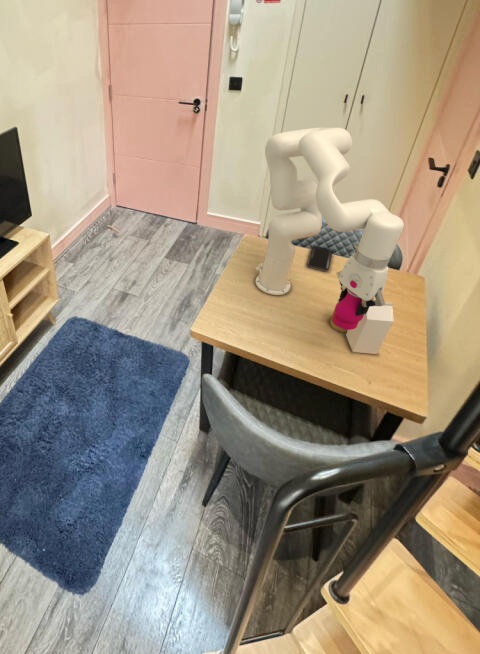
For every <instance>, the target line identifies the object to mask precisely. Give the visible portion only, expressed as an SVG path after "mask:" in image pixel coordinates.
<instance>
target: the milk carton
mask: <svg viewBox="0 0 480 654" xmlns="http://www.w3.org/2000/svg"><path fill="white" fill-rule="evenodd" d="M393 307H394V302H385V305H383V306H370V307H369V309H368V311H367V313H366V314H364V316H363V319H362V320H361V321H359V323H358V325H357V327H356V328H355V329H352V330H348V331H347V332H345V336H346V339H347V342H348V344H349V346H350V350H351V351H352V353H361V354H369V355H370V354H371V355H377V354H378V353H379V351H380V349H381V347H382V345H383V344H384V341H385V339H386V338H387V335H388V333H389V331H390V329H391V328H392V326H393V323H394V321H395V319H394V308H393Z"/></svg>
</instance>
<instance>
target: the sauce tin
mask: <svg viewBox="0 0 480 654" xmlns="http://www.w3.org/2000/svg"><path fill="white" fill-rule="evenodd" d="M338 302H339V298H338V299H337V302H336V304H335V306H334V309H333V312H332V315H331V317H330V320H329V324H330V326H331V327H332V328H333V329H334V330H336V331H338V332H341V333H347V331H348V330H347V329H343V328H341V327H339V326H337V325H336V324H335V322H334V320H333V318H334V315H335V313H336V312H335V307H336V305H337V304H338Z"/></svg>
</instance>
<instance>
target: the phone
mask: <svg viewBox="0 0 480 654" xmlns="http://www.w3.org/2000/svg"><path fill="white" fill-rule="evenodd" d="M333 252H334V251H333V250H332V249H330V248H325V247H323V246H322V247H321V246H317V245H313V246H312V247H311V250H310V252H309V253H310V254H309V257H308V261H307V264H306V266H307V268H310V269H314V270H316V271H317V270H318V271H321V272H329V269H330V266H331V261H332V256H333Z"/></svg>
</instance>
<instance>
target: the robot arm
mask: <svg viewBox="0 0 480 654" xmlns="http://www.w3.org/2000/svg"><path fill="white" fill-rule="evenodd" d="M352 146H353V138H352V135H351V134H350V132H349V131H348V130H347V129H345V128H343V127H311V128H310V127H309V128H304V129H296V130H289V131H283V132H279V133H276V134H273V135H272V136H270V138H268V140H267V141H266V144H265V146H264V155H265V160H266V164H267V167H268V170H269V181H270V183H269V184H270V197H271V204H272V206H273V208H274V209H275V210H277V211H291V210H295V209H300V211H295V212H286V213H282V214H278V215H276V216H273V217H272V218H271V219H270V220H269V222H268V228H267V229H268V237H267V245H266V249H265V255H264V261H263V262H260V263H258V266H256V267H255V269H256V270H257V271H258V272H259V273H258V275H257V276H256V277H255V281H254V283H255V285H256V287H257V288H258V289H259V290H260V291H261V292H263V293H265V294H268V295H271V296H282V295H286V294H287V293H288V292H290V290H291V282H290V281H289V277H290V273H291V269H292V265H293V262H294V258H295V253H296V247H295V244H294V243H293V241H296V240H300V239H305V238H311V237H315V236H317V235H318V234H320V232H321V230H322V228H323V227H322V226H323V220H324V222H325V223H326V224H327V225H328V226H329V228H330V229H332V230H333V231H335V232H338V233H339V232H340V233H345V232H351V231H356V230H363V232H362V235H361V237H360V240H359V243H355V244H354V245H353V248H355V252H354V253H353V252H352V253H351V254H350V256H349V258H348V259H347V260H346V262H345V264H344V266H343V268H342V269H341V270H340V271H337V272H336V274H335V275H336V276H337V278H338V282H339V285H340V289H339V290H340V291H341V292H340V294H339V298H338V299H339V302H340V301H341V300H342V299H343V298H345V296H346V295H347V293H348V291H347V288H348V289H349V290H351V291H352V292H353V293H355V294H356V295H357V296H359V297H360V298H362V304H360V305H359V306H358V309H357V311H356V315H357V316H359V315H362V314H363V315H364V314H366V313H367V311H368V309H369V307H370V306H383V305H385V298H384V295H383V292H384V289H385V287H386V284H387V280H388V275H389V266H388V264H389V263H390V260H391V258H392V256H393V253H394V251H395V248H396V246H397V244H398V242H399V240H400V237H401V235H402V233H403V230H404V228H405V223H404V221H403V219H402V218H401V217H400V216H398V215H396V214H393V213H391V212H390V211H389V209H388V208H387V207H386V206H385V205H384V204H383V203H382V202H381V201H380V200H379V199H373V198H368V199H361V200H353V201H348V202H343V203H341V202H340V200H339V199H338V198H337V196H336V194H335V192H334V190H333V189H334V188H333V187H334V186H335V185H337V184H339V183H340V182H342V181H343V180H344V179H345V178H346V177H347V176H348V175H349V173H350V171H351V165H350V163H348V161H347V160H346V158H345V157H344V155H347V154H348V153H349V152H350V151H351V149H352ZM295 157H303V159H304V161H305V162H306V164H307V165H308V167H309V168H310V170H311V171H312V173H313V174H314V176H315V178H316V179H317V181H318V183H316V181H314V180H311V179H301V180H299V179H298V169H297V166H296V165H295V163H294V162H293V160H292V159H291V158H295ZM351 280H353V281H355V282H356V283H357V286H356V288H352V287H351V286H350V281H351Z"/></svg>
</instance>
